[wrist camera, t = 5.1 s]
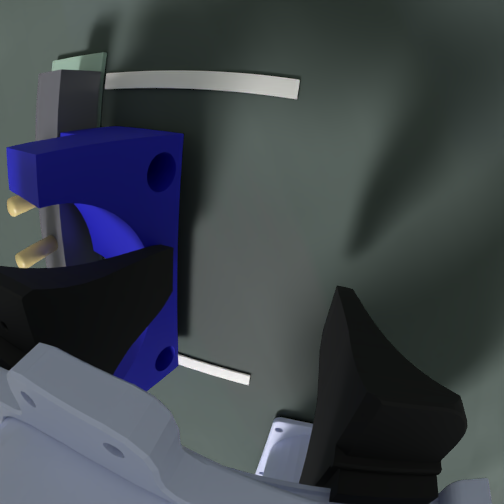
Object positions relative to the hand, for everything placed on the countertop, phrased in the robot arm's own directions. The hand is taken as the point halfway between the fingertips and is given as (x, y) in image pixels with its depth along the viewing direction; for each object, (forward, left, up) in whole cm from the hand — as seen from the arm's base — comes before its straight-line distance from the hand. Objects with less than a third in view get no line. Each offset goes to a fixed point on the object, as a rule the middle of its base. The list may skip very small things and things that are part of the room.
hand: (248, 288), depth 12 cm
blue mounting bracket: (-1, +6, -2) cm, 6 cm away
